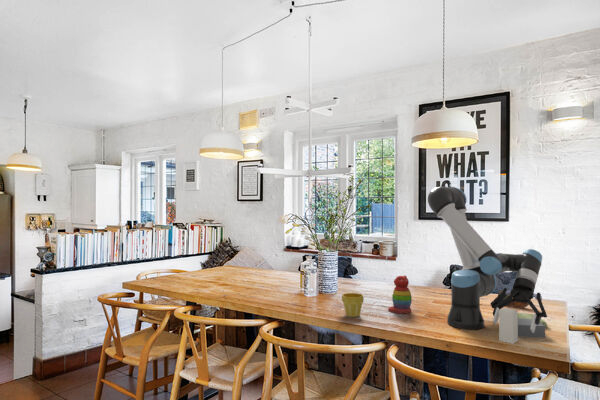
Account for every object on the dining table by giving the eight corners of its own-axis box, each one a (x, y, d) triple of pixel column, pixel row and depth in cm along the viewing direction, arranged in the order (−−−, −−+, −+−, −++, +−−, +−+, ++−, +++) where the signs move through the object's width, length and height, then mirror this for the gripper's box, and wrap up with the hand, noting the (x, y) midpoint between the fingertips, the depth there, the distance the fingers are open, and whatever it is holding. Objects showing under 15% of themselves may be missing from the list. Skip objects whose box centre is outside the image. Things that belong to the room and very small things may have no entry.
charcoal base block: (518, 337, 160) (518, 324, 160) (509, 329, 170) (509, 318, 170) (545, 338, 159) (545, 326, 159) (534, 330, 168) (534, 319, 168)
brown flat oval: (497, 304, 212) (497, 288, 213) (499, 303, 215) (499, 288, 215) (529, 309, 202) (529, 293, 202) (530, 308, 204) (530, 292, 205)
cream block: (512, 344, 151) (512, 312, 152) (499, 340, 155) (499, 310, 155) (517, 341, 155) (517, 310, 155) (504, 337, 159) (504, 307, 159)
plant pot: (338, 313, 194) (338, 293, 194) (356, 311, 198) (356, 291, 198) (348, 319, 184) (348, 298, 184) (367, 316, 188) (367, 296, 188)
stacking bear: (401, 307, 206) (401, 273, 206) (416, 311, 197) (416, 276, 198) (386, 310, 200) (386, 275, 200) (401, 315, 191) (401, 278, 192)
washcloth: (536, 318, 188) (536, 311, 188) (549, 329, 170) (549, 322, 170) (505, 316, 191) (505, 309, 191) (515, 327, 174) (515, 320, 174)
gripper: (562, 292, 157) (551, 339, 147) (496, 283, 175) (482, 325, 165) (558, 280, 153) (546, 328, 143) (491, 273, 172) (477, 315, 161)
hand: (512, 326), depth 154 cm, fingers open, 13 cm apart
